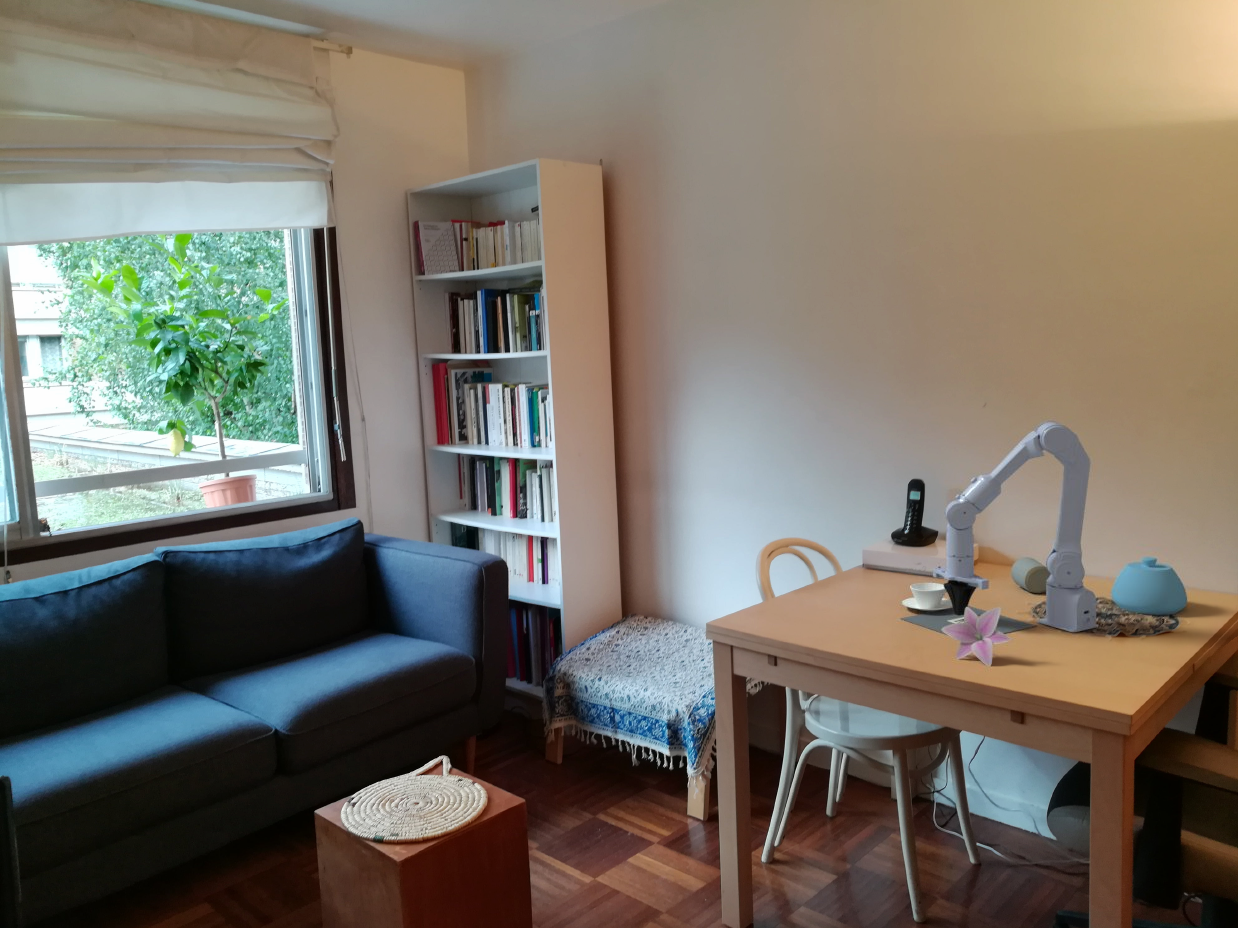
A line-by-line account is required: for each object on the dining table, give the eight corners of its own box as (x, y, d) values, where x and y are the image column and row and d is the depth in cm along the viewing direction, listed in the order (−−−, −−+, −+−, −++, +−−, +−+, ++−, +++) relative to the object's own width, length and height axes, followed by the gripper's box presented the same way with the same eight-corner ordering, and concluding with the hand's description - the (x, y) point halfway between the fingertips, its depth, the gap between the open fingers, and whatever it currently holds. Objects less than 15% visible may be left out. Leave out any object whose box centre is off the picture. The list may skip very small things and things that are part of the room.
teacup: (957, 615, 208) (957, 592, 207) (902, 614, 211) (901, 592, 211) (954, 602, 219) (953, 581, 219) (901, 601, 223) (901, 580, 222)
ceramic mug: (1025, 595, 224) (1026, 564, 223) (1009, 587, 232) (1010, 557, 231) (1068, 593, 224) (1069, 563, 223) (1051, 585, 232) (1052, 555, 231)
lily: (936, 654, 187) (931, 620, 182) (980, 625, 190) (976, 591, 185) (981, 688, 177) (977, 654, 172) (1026, 657, 180) (1024, 622, 175)
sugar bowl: (1182, 620, 199) (1184, 568, 197) (1105, 611, 208) (1106, 561, 207) (1190, 604, 211) (1191, 554, 209) (1117, 596, 220) (1118, 548, 218)
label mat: (1036, 626, 199) (1036, 625, 199) (967, 641, 190) (967, 640, 190) (966, 605, 217) (966, 604, 217) (900, 618, 208) (900, 617, 208)
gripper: (922, 551, 209) (923, 609, 210) (971, 562, 196) (971, 624, 197) (946, 547, 212) (946, 604, 213) (995, 558, 198) (995, 619, 200)
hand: (960, 614), depth 205 cm, fingers closed
